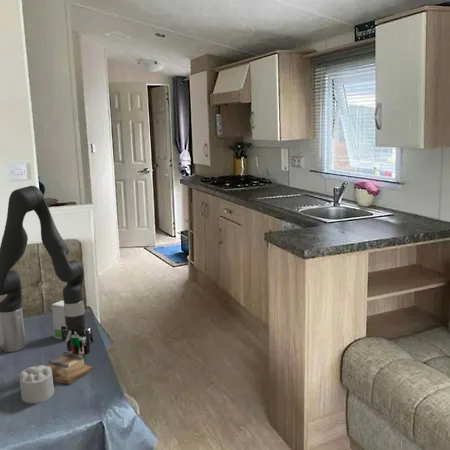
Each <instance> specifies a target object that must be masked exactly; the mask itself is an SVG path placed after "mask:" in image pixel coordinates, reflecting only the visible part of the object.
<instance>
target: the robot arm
mask: <svg viewBox="0 0 450 450" xmlns="http://www.w3.org/2000/svg"><path fill="white" fill-rule="evenodd" d="M32 211H34V212H35V213H36V216H37V217H38V219H39V224H40V239H41V242H42V245H43V247H44V248H45V250H46V252H47V253H48V255H49V256H50V259H51V263H52V267H53V269H54V273H55V275H56V277H57V278H58V280H60V281H62V282H63V283H66V285H65V286H64V288H63V289H62V296H63V297H62V298H63V301H64V315H65V325H63V326H61V335H62V339H61V340H62V341H65V343H66V350H67V352H68V353H71V352H72V350H71V340H70V336H71V334H75V335H76V336H77V337H78V339H79V341H80V342H82V343H83V345H84V346H83V347H84V355H86V356H87V355H90V353H91V348H90V345H91V344H93V343H94V335H93V329H92V328H91V327H89V328H86V327H85V326H86V323H87V322H86V321H87V320H86V313H85V304H84V297H83V284H84V276H85V275H84V274H85V272H84V266H83V264H82V263H81V262H80V261H79V260H77V259H72V260H68V258H67V255H68V254H69V253H70V250H69V247H68V246H67V244H66V243H65V241H64V239H63V237H62V236H61V234H60V233H59V230H58V228H57V226H56V224H55V221H54V219H53V216H52V212H51V211H50V209H49V206H48V204H47V201H46V198H45V196H44V194H43V192H42V191H41V189H40V188H39V187H38V186H35V185H28V186H24V187H21V188H17V189H14V190H13V191H12V192H11V193H10V195H9V198H8V205H7V215H6V220H5V225H4V230H3V235H2V238H1V243H0V297H1V296H5V297H4V298H3V299H2V300H1V301H0V349H1V350H2V351H3V352H5V353H12V352H17V351H21V350H23V349H25V348H26V347H27V341H26V334H25V325H24V316H23V315H24V314H23V309H22V302H23V293H22V282H21V277H20V275H19V272H17V271H16V270H14V269H13V270H12V268H13V267H15V265H16V264H17V263H18V261H20V260H21V258H23V256H24V254H25V251H26V248H27V246H28V245H27V244H28V239H29V238H28V233H27V231H26V229H25V227H24V226H23V225H24V220H25V217H26V214H27V213H29V212H32ZM68 332H69V333H68ZM83 336H84V338H81V337H83Z"/></svg>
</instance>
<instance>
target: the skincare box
mask: <svg viewBox="0 0 450 450" xmlns="http://www.w3.org/2000/svg"><path fill="white" fill-rule="evenodd" d="M51 306H52V307H51V308H52V309H51V310H52V321H53V322H52V325H53V336H54V337H53V338H55V339H59V340H62V335H61V326H63V325H65V315H64V300H60V301H57V302H54V303H52V304H51ZM68 333H69V332H68Z"/></svg>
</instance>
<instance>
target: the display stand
mask: <svg viewBox="0 0 450 450" xmlns="http://www.w3.org/2000/svg"><path fill="white" fill-rule="evenodd" d="M62 354H63V355H62V356H61V357H59V358H57V359H50V360H47V361H48V363H47V366H50V367H51V370H52V377H53V382H56V383H61V384H64V385H65V384H66V385H69V386H70V385H72V384H73V383H76V382H77V381H78V380H80V379H81V378H84V377H85V376H86V375H88V374H89V373H92V372H93V371H94V366H91V365H88V364H85V362H84V358H83V356H81V355H77V354H72V352H68V351H64V352H63V353H62ZM84 375H85V376H84Z"/></svg>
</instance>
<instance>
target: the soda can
mask: <svg viewBox="0 0 450 450" xmlns="http://www.w3.org/2000/svg"><path fill="white" fill-rule="evenodd" d="M81 338H84V336H83V337H81ZM70 340H71V350H72V351H71V353H72V354H77V355H81V356H83V358H84V363H85V362H86V361H87V357H86V356H87V355H84V347H83V346H84V345H83V343H82V342H80V341H79V339H78V337H77V336H76V335H75V334H71V336H70Z"/></svg>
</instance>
